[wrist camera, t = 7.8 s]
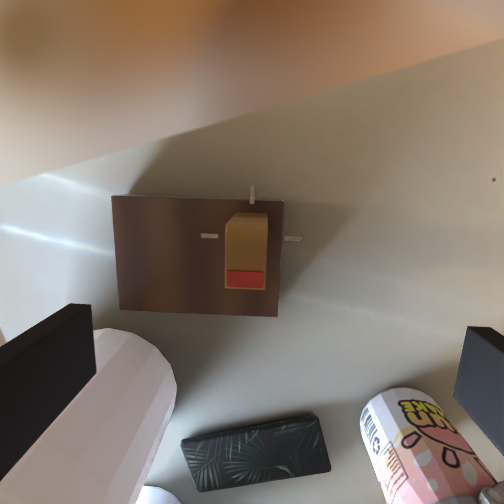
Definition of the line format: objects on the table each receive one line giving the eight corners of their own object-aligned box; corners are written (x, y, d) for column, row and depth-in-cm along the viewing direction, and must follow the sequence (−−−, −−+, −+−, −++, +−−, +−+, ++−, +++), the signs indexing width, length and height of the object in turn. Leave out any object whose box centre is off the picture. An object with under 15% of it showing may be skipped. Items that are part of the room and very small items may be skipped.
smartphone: (178, 444, 33) (318, 418, 31) (181, 436, 34) (316, 411, 32) (197, 494, 34) (332, 473, 32) (199, 485, 35) (330, 464, 33)
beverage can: (462, 399, 31) (580, 530, 20) (424, 463, 33) (511, 616, 21) (377, 370, 31) (445, 485, 19) (344, 436, 33) (387, 577, 21)
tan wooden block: (236, 212, 25) (224, 224, 18) (267, 213, 25) (268, 226, 18) (235, 260, 26) (224, 290, 19) (265, 261, 26) (265, 291, 19)
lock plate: (300, 186, 27) (305, 187, 24) (293, 304, 30) (296, 319, 27) (126, 181, 28) (108, 181, 25) (133, 297, 30) (118, 311, 27)
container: (142, 308, 31) (-74, 534, 11) (199, 417, 33) (105, 756, 14) (29, 353, 32) (-332, 617, 13) (91, 453, 35) (-130, 801, 15)
